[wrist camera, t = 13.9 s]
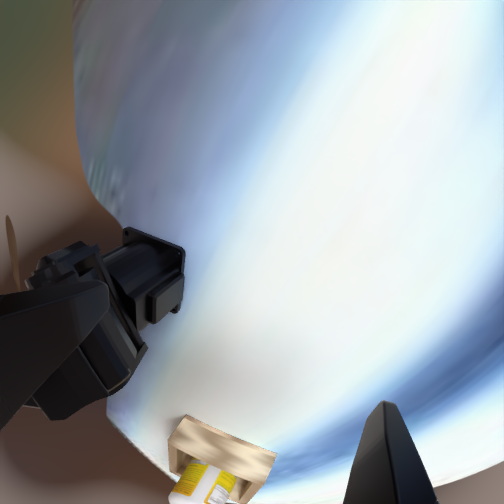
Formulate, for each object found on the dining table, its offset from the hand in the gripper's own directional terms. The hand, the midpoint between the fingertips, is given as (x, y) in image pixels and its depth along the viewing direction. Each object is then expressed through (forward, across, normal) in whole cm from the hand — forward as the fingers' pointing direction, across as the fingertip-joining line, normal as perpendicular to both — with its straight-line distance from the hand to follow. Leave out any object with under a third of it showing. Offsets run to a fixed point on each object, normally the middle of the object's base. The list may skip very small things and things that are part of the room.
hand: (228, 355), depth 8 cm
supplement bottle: (+12, +1, +34) cm, 36 cm away
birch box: (+13, +1, +34) cm, 36 cm away
